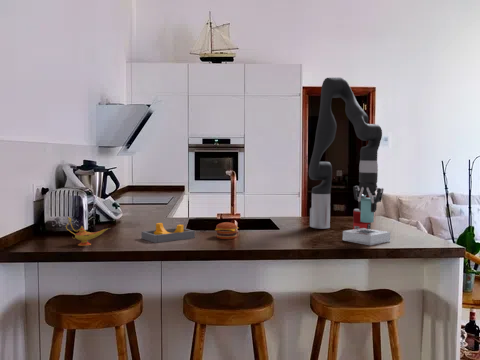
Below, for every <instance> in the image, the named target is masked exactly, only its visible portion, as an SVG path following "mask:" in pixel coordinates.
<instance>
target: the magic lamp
mask: <svg viewBox="0 0 480 360" xmlns="http://www.w3.org/2000/svg"><path fill="white" fill-rule="evenodd" d="M67 222H68V223H67V224H66V225H65V229H66V230H67V231H69V232H70V233H71V234H73V235H74V237H73V235H72V239H74V240H75V239H76V240H78V241H80V242H79V243H77V246H79V247H81V246H82V247H84V246H85V247H86V246H87V247H88V246H91V245H92V243H90V242H89V241H90V240H92V239H95V238H97V237H99V236H100V235H102V234H103V233H105V232H106V231H107V230H110V229H111V227H108V228H107V227H106V228H104V229H100V230H99V231H95V232H92V231H91V232H90V231H87V230H86V229H85V228H84V226H83V225H81V226H80V228H79V229H74V227H73V224H72V218H71V217H69V216H68V217H67ZM69 224H70V226H71V229H72V231H71V230H70V229H68V225H69ZM73 231H74V232H76V233H74V232H73ZM88 240H89V241H88Z"/></svg>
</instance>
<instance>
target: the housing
mask: <svg viewBox="0 0 480 360" xmlns="http://www.w3.org/2000/svg"><path fill="white" fill-rule="evenodd" d="M342 241H344V242H349V243H355V244H361V245H365V246H366V245H367V246H375V245H381V244H384V243H389V242H391V232H390V231H384V230H378V229H373V228H372V229H366V228H359V229H353V228H352V229H346V230H342Z"/></svg>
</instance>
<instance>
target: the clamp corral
mask: <svg viewBox="0 0 480 360" xmlns="http://www.w3.org/2000/svg"><path fill="white" fill-rule="evenodd" d="M176 228H177V227H172V228H171V227H170V228H164V229H165V230H166V231H167V232H169V234H160V235H155V234H154V232H155V231H156V229H155V230H154V229H153V230H144V231H143V230H142V231H141V239H142V240H145V241H147V242H151V243H154V244H157V243H165V242H172V241H174V242H175V241H180V240H189V239H195V236H196V232H195V230H194V229H193V230H192V229H189V228H185V227H184V232H177V233H174V232H175V230H176Z"/></svg>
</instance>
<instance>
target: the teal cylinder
mask: <svg viewBox="0 0 480 360" xmlns="http://www.w3.org/2000/svg"><path fill="white" fill-rule="evenodd" d="M371 203H372V202H371V199H370V198H369V197H365V198H361V220H360V221H361V222H365V223H371V224H372V223H374V219H375V212H371Z"/></svg>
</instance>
